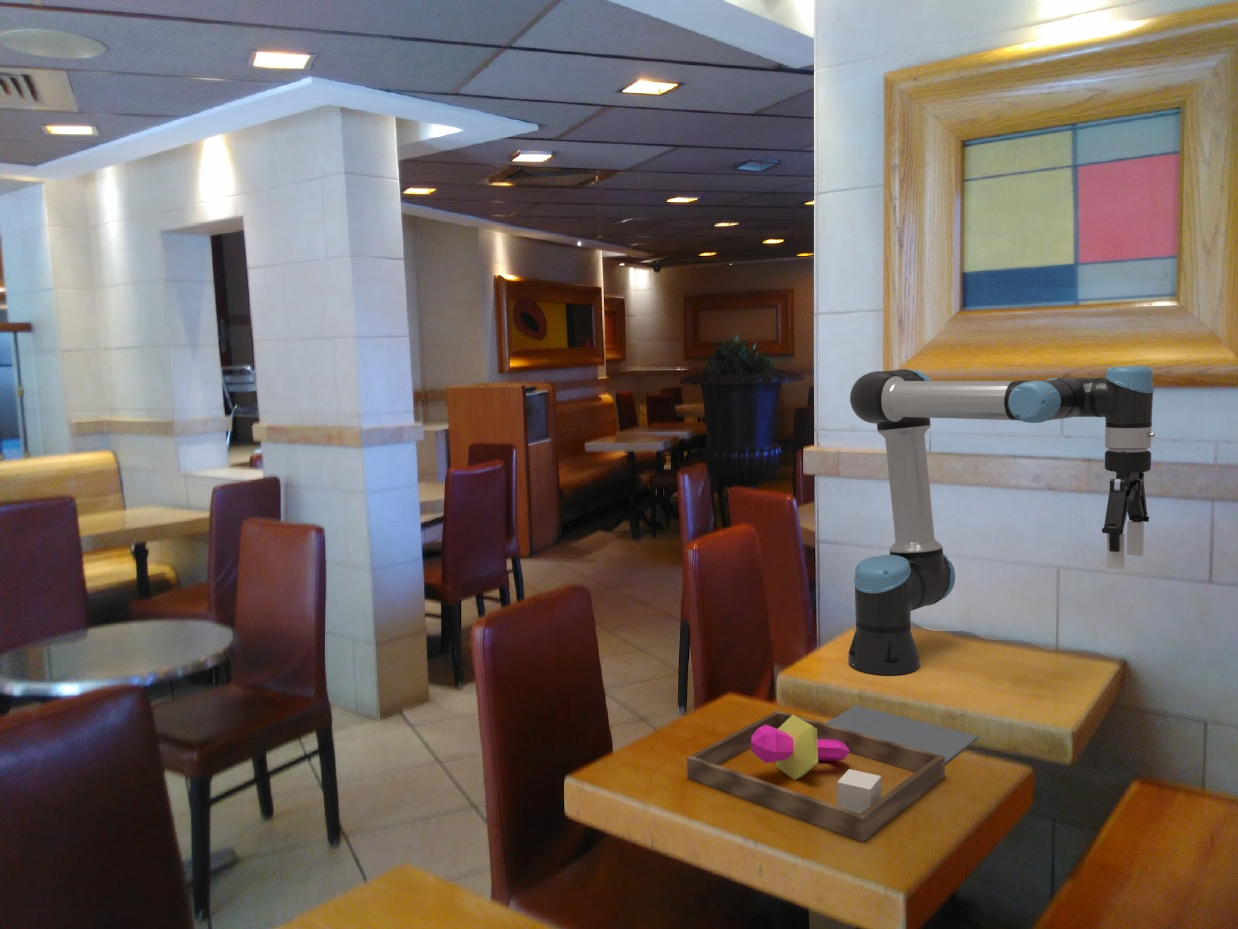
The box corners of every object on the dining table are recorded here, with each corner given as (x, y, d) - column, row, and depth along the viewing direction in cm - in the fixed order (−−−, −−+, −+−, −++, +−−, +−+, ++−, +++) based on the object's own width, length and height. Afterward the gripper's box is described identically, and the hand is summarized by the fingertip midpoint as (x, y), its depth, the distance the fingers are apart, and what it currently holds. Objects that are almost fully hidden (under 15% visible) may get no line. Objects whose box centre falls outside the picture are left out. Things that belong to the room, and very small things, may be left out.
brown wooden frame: (687, 778, 149) (686, 757, 148) (777, 728, 167) (777, 710, 167) (863, 842, 126) (862, 818, 126) (944, 777, 145) (944, 756, 144)
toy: (862, 783, 146) (859, 717, 150) (769, 774, 139) (768, 705, 143) (823, 785, 154) (821, 723, 158) (734, 777, 147) (734, 712, 151)
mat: (805, 736, 163) (805, 734, 163) (856, 707, 176) (856, 705, 176) (932, 774, 146) (932, 771, 146) (978, 738, 159) (978, 736, 159)
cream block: (837, 814, 135) (837, 782, 134) (849, 800, 139) (849, 769, 138) (870, 822, 132) (870, 789, 131) (881, 807, 136) (881, 776, 136)
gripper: (1132, 457, 156) (1129, 577, 158) (1166, 444, 174) (1163, 552, 177) (1085, 455, 161) (1083, 572, 164) (1123, 443, 179) (1121, 547, 182)
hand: (1125, 561), depth 170 cm, fingers open, 13 cm apart
